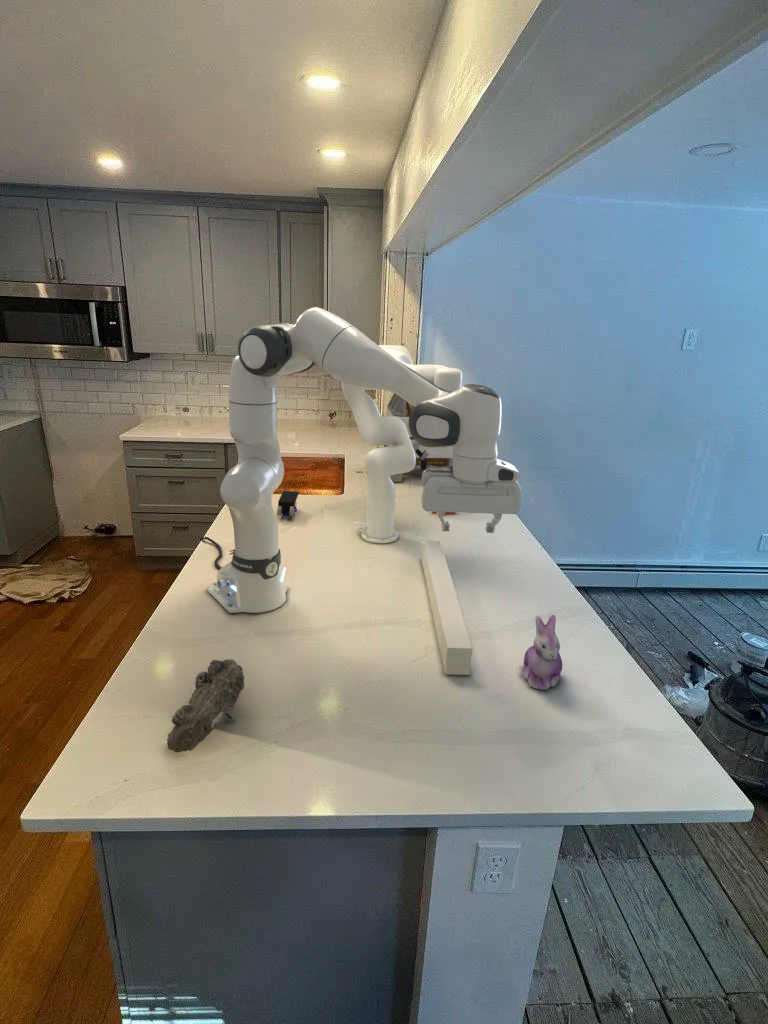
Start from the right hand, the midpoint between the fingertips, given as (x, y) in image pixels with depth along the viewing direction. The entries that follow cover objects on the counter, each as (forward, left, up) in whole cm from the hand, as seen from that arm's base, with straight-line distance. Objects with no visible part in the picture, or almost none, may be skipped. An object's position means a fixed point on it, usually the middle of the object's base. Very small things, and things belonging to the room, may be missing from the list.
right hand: (440, 472), depth 164 cm
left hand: (+15, -45, +1) cm, 47 cm away
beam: (+7, -22, -31) cm, 39 cm away
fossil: (-26, -80, -31) cm, 90 cm away
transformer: (-29, +103, -31) cm, 112 cm away
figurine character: (-61, +25, -31) cm, 73 cm away
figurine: (+34, -46, -31) cm, 65 cm away
